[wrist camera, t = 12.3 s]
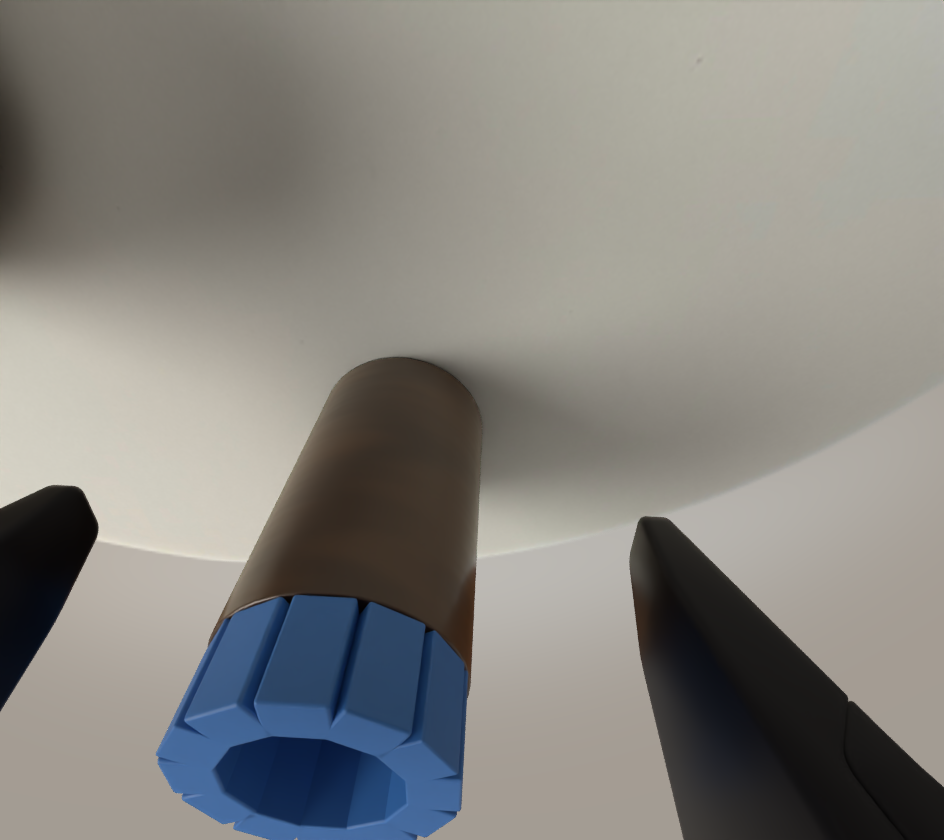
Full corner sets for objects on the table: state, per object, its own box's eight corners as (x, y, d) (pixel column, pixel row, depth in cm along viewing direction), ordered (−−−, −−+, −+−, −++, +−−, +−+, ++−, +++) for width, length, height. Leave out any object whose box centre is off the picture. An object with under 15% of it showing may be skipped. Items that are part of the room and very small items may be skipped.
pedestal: (485, 361, 22) (475, 602, 12) (479, 491, 25) (466, 754, 16) (316, 352, 22) (174, 585, 12) (333, 483, 25) (235, 740, 16)
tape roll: (472, 603, 12) (465, 716, 10) (464, 750, 16) (458, 858, 14) (181, 586, 12) (116, 695, 10) (238, 736, 16) (199, 841, 14)
